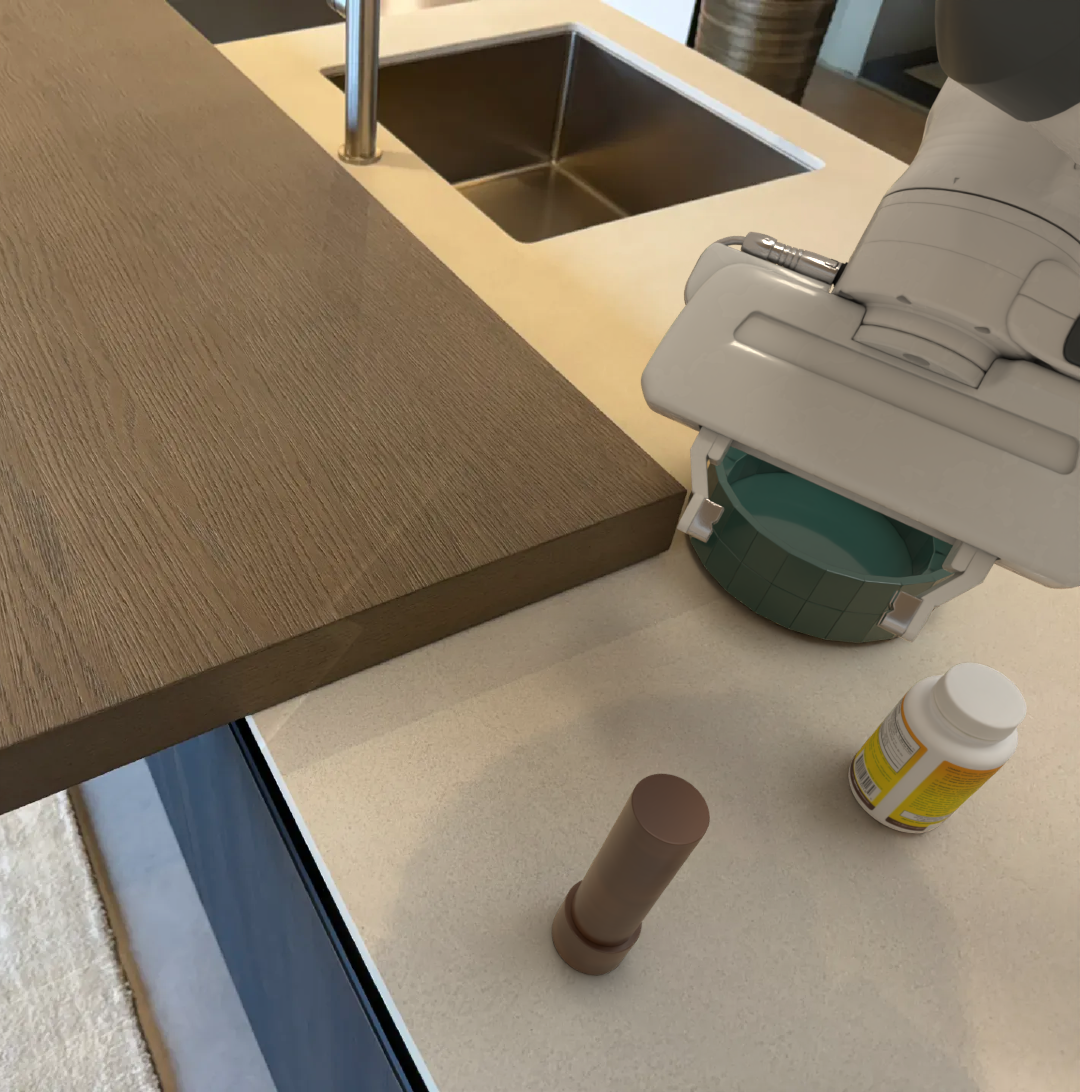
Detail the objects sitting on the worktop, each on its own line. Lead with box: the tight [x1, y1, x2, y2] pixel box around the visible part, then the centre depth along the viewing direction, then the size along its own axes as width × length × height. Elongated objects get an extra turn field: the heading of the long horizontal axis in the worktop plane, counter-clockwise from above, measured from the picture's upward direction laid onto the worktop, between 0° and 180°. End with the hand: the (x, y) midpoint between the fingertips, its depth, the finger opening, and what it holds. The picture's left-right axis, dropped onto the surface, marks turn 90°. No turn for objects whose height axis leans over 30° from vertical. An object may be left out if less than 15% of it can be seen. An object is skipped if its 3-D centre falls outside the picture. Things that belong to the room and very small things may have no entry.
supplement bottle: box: [848, 661, 1027, 834], centre depth 56 cm, size 6×6×10 cm
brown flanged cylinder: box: [551, 773, 711, 976], centre depth 47 cm, size 4×4×14 cm
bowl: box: [686, 446, 955, 644], centre depth 69 cm, size 17×17×6 cm
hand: (789, 583), depth 46 cm, fingers open, 8 cm apart
